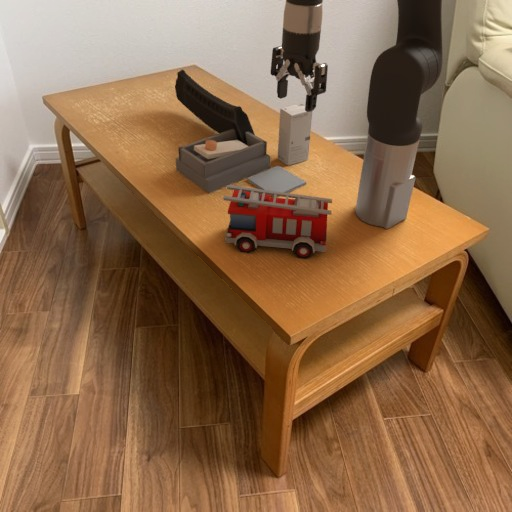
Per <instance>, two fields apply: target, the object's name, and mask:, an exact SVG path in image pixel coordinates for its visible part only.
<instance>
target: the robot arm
mask: <svg viewBox="0 0 512 512" xmlns="http://www.w3.org/2000/svg"><path fill="white" fill-rule="evenodd" d="M323 1H324V0H285V5H284V10H283V20H282V36H281V45H280V46H276V47H273V48H272V51H271V52H272V53H271V64H270V75H271V76H274V77H275V79H276V81H277V82H276V84H277V86H276V88H277V89H276V95H277V98H279V99H283V98H286V97H287V96H288V87H289V86H288V85H289V80H288V78H289V76H291V77H295V78H296V79H298V80H299V81H300V83H301V85H302V86H304V89H305V91H306V95H305V104H304V105H305V111H307V112H310V111H312V112H313V111H314V110H315V109H316V107H317V101H318V100H317V99H318V96H319V95H321V94H325V93H326V92H327V81H328V68H329V66H328V64H327V62H323V63H320V62H317V59H316V56H317V54H318V52H319V49H320V42H321V32H322V22H323ZM396 1H397V8H398V9H397V13H398V15H397V16H398V17H397V32H396V33H397V34H396V35H397V36H396V41H395V45H393V46H391V47H389V48H387V49H386V50H384V51H382V52H381V53H380V54H379V55H378V56H377V58H376V59H375V61H374V63H373V65H372V66H373V67H372V70H371V75H370V80H369V87H368V95H367V96H368V97H367V105H366V106H367V107H366V118H367V122H368V129H367V136H366V143H365V148H364V149H365V150H364V153H363V154H364V155H363V161H362V166H361V172H360V179H359V184H358V189H357V191H358V192H357V198H356V204H355V208H354V209H355V214H356V217H358V219H360V220H361V221H362V222H364V223H366V224H369V225H372V226H376V227H382V228H384V229H386V230H388V229H390V228H393V226H395V225H397V224H398V223H400V222H402V221H404V220H405V219H407V216H408V212H409V209H410V203H411V198H412V195H413V191H414V186H415V181H416V176H415V175H414V174H413V169H414V165H415V161H416V156H417V153H418V148H419V144H420V143H419V142H420V141H421V140H420V139H421V134H422V130H423V123H422V120H421V118H420V117H418V111H419V105H420V100H421V95H423V94H424V93H426V92H427V91H429V90H430V89H431V88H432V87H434V86H435V84H436V83H437V81H438V79H439V78H440V76H441V73H442V68H443V60H444V59H443V29H442V28H443V27H442V26H443V25H442V22H443V21H442V11H443V10H442V7H443V6H442V4H443V3H442V2H443V0H396ZM309 76H310V78H308V77H309Z"/></svg>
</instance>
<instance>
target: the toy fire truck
mask: <svg viewBox="0 0 512 512" xmlns="http://www.w3.org/2000/svg"><path fill="white" fill-rule="evenodd" d="M226 189H227V190H232V191H233V192H232V196H228V195H223V198H222V199H223V201H227V202H230V203H229V205H228V208H227V215H229V222H228V225H227V226H228V227H227V229H226V233H225V236H224V242H225V243H228V244H229V243H230V244H234V246H236V248H237V250H238V251H240V253H243V254H251V253H253V252H254V251H255V248H258V246H260V247H269V248H271V247H272V248H281V249H282V248H283V249H291V251H294V252H293V254H294V255H295V257H297V258H298V259H303V260H307V259H309V258H311V257H312V255H313V254H315V252H324V253H325V252H326V248H327V232H328V231H327V230H328V215H329V216H332V215H333V214H332V212H333V211H332V210H329V204H333V198H327V197H319V196H312V195H304V194H297V193H291V192H288V193H284V192H276V191H269V190H262V189H259V188H253V187H247V186H239V185H233V184H230V185H227V186H226ZM271 195H274V198H273V197H272V196H271ZM277 196H279V197H277ZM276 197H277V198H276ZM281 197H283V198H281Z"/></svg>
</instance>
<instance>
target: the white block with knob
mask: <svg viewBox="0 0 512 512" xmlns="http://www.w3.org/2000/svg"><path fill="white" fill-rule="evenodd" d="M246 147H249V146H247V145H246V144H244V143H242V142H241V141H239V140H232V141H224V142H216V141H214V140H206V143H205V144H202V145H195V146H194V151H196V152H197V153H199V154H201V155H202V156H204V157H205V158H207V159H211V158H217V157H222V156H225V155H227V154H230V153H233V152H235V151H238V150H241V149H243V148H246Z"/></svg>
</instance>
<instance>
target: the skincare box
mask: <svg viewBox="0 0 512 512" xmlns="http://www.w3.org/2000/svg"><path fill="white" fill-rule="evenodd" d="M279 114H280V115H279V123H278V124H279V125H278V142H277V143H278V144H277V159H278V160H279V161H280V162H282V163H283V164H285V165H286V166H291V165H295V164H299V163H302V162H305V161H307V160H308V159H309V153H310V145H311V144H310V142H311V131H312V130H311V129H312V122H313V121H312V119H313V111H310V112H307V111H305V104H303V103H299V104H294V105H288V106H286V107H282V108H280V109H279Z"/></svg>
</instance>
